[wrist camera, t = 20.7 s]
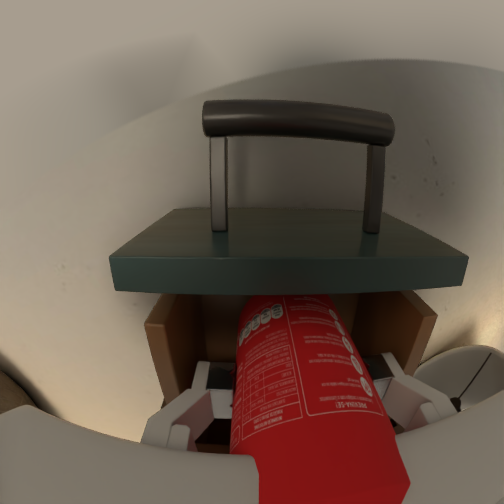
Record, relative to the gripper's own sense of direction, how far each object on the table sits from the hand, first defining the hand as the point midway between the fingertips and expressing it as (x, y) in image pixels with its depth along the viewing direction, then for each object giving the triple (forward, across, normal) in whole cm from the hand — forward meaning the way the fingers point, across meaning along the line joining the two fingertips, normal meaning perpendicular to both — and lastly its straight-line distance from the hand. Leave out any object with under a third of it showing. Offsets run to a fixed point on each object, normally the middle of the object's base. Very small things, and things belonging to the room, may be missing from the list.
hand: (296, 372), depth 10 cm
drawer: (+7, 0, -1) cm, 7 cm away
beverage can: (+5, 0, 0) cm, 5 cm away
